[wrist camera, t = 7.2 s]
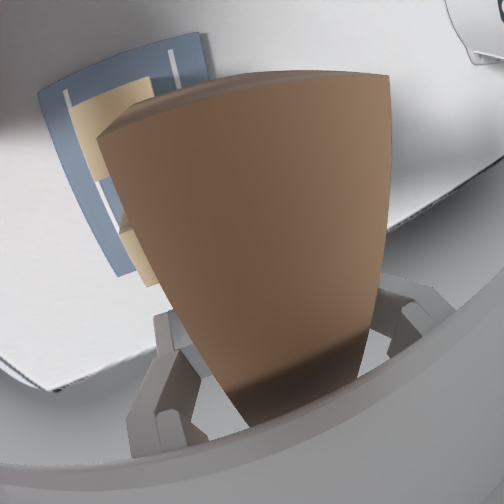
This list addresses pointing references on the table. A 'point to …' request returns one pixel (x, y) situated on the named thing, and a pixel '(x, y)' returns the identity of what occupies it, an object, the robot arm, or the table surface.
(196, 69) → the blueprint board
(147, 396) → the robot arm
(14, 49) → the table surface
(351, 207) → the walnut lintel
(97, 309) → the table surface
